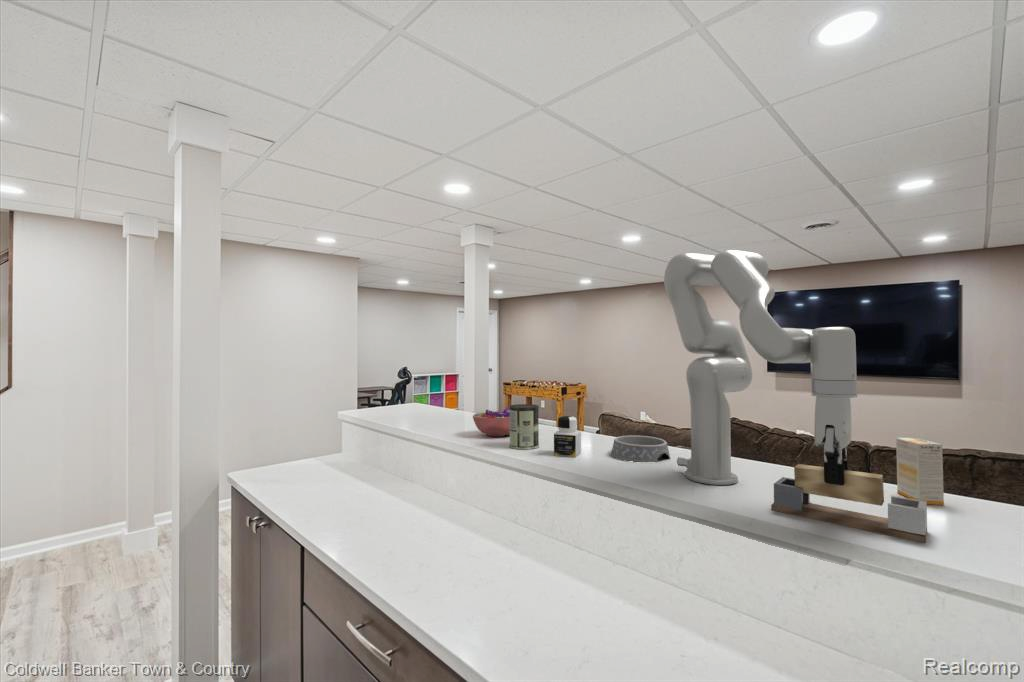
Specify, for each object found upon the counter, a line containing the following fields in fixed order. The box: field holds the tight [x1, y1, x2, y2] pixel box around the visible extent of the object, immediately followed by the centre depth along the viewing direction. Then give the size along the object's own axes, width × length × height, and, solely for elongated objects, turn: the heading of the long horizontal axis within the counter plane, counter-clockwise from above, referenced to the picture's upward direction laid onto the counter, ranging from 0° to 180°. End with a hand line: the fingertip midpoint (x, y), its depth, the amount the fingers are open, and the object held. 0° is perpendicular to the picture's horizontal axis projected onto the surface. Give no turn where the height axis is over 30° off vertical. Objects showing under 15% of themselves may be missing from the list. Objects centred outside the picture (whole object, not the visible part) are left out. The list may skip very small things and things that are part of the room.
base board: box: [770, 502, 928, 544], centre depth 91 cm, size 24×7×1 cm, turn 46°
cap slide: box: [887, 495, 928, 535], centre depth 84 cm, size 5×7×4 cm
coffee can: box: [508, 403, 540, 451], centre depth 160 cm, size 10×10×14 cm
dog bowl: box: [610, 434, 671, 463], centre depth 146 cm, size 17×18×5 cm
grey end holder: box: [773, 476, 811, 511], centre depth 97 cm, size 5×7×4 cm
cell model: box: [472, 405, 510, 437], centre depth 180 cm, size 17×20×11 cm
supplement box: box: [895, 437, 945, 506], centre depth 104 cm, size 8×5×13 cm, turn 168°
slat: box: [793, 463, 885, 507], centre depth 91 cm, size 14×4×5 cm, turn 46°
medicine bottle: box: [553, 415, 582, 458], centre depth 148 cm, size 7×7×12 cm
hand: (836, 480), depth 91 cm, fingers closed on slat, 3 cm apart
